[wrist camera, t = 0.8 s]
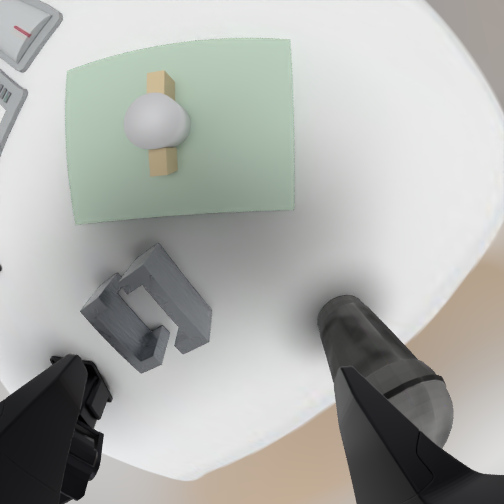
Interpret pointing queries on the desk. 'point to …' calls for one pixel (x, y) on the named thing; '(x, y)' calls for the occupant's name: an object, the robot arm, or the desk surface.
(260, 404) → the desk surface
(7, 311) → the desk surface
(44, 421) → the robot arm
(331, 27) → the desk surface
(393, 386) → the beverage cup
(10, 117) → the office telephone
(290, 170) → the keyed post stand
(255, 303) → the desk surface
